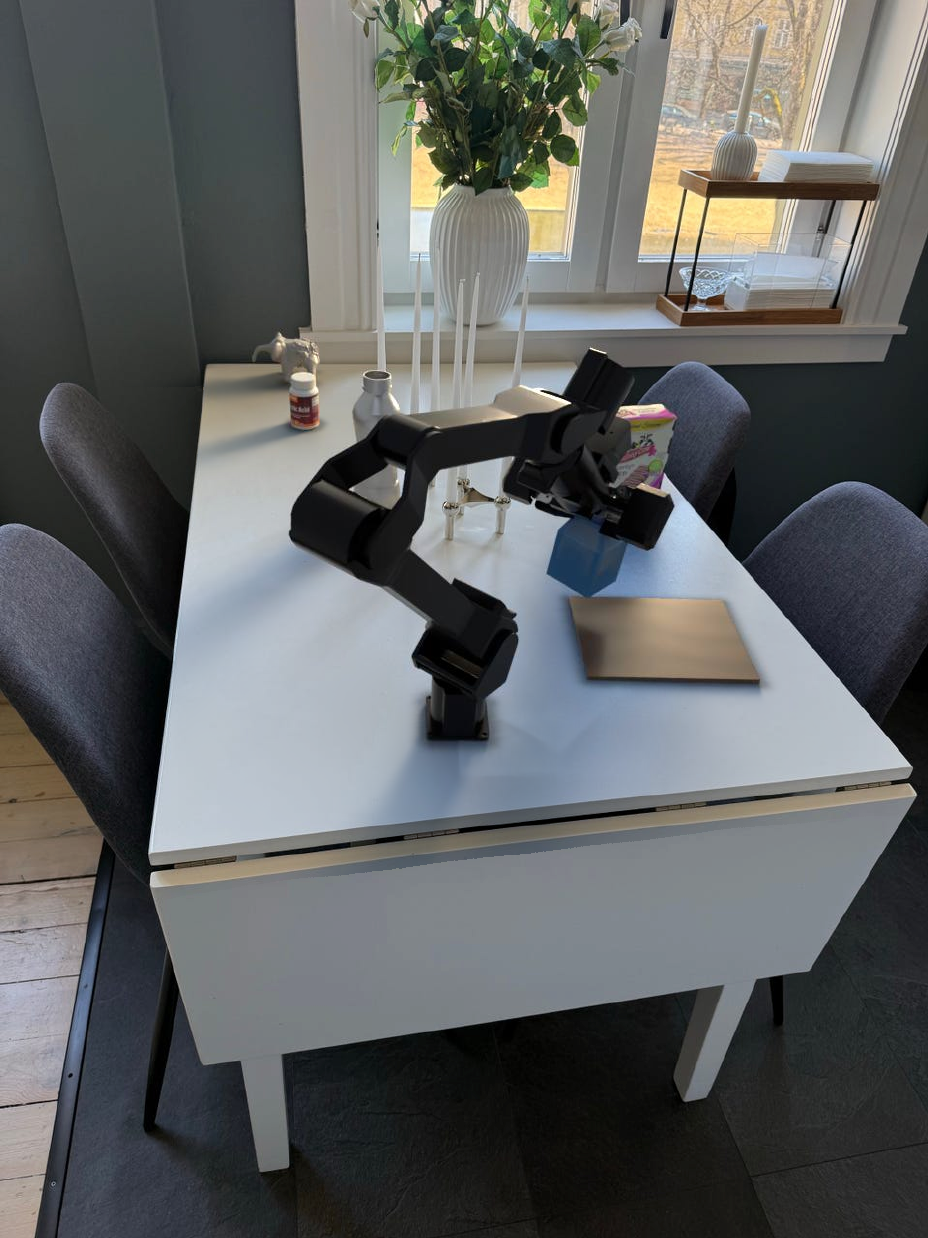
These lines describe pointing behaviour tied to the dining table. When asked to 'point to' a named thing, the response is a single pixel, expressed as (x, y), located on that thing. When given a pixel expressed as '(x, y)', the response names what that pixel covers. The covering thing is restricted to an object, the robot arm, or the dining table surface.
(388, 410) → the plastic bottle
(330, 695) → the dining table surface
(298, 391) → the pill bottle
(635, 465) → the candy bar box
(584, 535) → the perfume bottle
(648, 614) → the walnut board
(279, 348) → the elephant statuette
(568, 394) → the robot arm
